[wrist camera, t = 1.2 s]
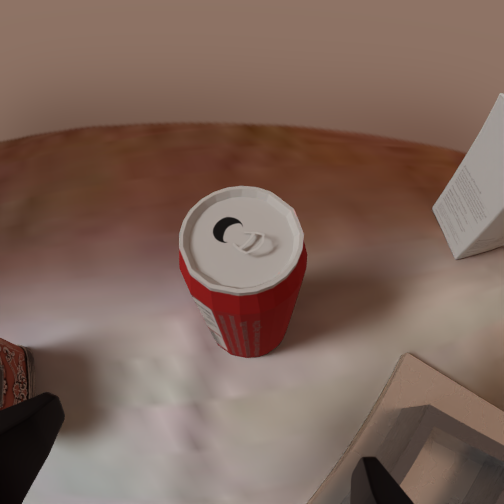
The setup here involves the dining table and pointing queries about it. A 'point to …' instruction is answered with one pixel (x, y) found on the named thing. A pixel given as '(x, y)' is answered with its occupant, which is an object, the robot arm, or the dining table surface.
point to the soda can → (243, 266)
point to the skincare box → (476, 193)
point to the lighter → (15, 374)
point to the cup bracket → (427, 441)
